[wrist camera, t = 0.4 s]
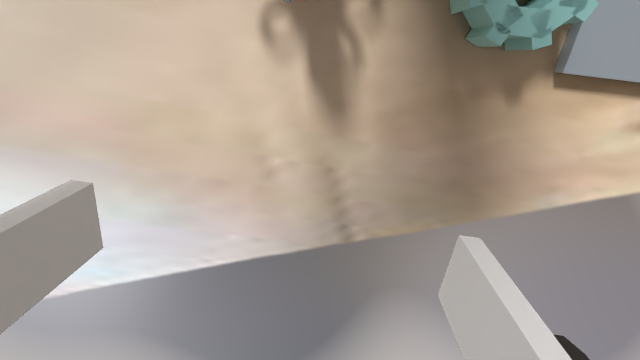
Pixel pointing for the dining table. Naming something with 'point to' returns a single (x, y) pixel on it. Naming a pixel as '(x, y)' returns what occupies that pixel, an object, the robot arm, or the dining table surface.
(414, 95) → the dining table surface
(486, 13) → the gear
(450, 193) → the dining table surface
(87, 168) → the dining table surface
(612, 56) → the gear board
